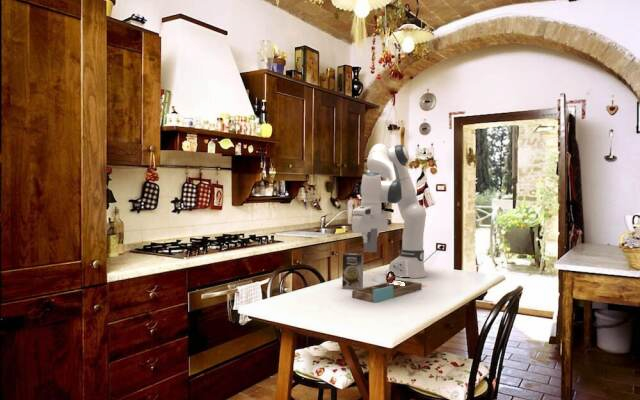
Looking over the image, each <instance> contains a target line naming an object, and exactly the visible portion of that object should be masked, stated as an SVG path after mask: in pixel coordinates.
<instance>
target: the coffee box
mask: <svg viewBox="0 0 640 400" xmlns="http://www.w3.org/2000/svg"><path fill="white" fill-rule="evenodd" d="M341 280H342V285H341V287H342V289H346V290H347V289H348V290H357V289H362V288H364V284H363V283H364V253H355V252H354V253H353V252H345V253H343V254H342V279H341Z"/></svg>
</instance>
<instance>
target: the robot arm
mask: <svg viewBox="0 0 640 400" xmlns="http://www.w3.org/2000/svg"><path fill="white" fill-rule="evenodd" d="M409 158H410V155H409V152H408V150H407V148H406V146H404V145H403V144H395V146H391V147H388V146H387V145H386V144H385V143H384V144H383V143H375V144H374V145H373V146H372V147H371V149H370V150H369V153H368V156H367V160H366V167H367V170H368V171H369V172H364V173H363V174H362V177H361V178H362V179H361V184H360V185H359V197H360V198H361V200H360V205H359V206H357V207H354V208H353V209H352V212H351V213H352V215H353V216H352V219H351V230H352V232H353V233H355V234H358V233H359V234H361V236H362V237H361V238H362V239H363V240H362V241H363V244H364V243H369V239H368V238H367V234H368V232H371V229H377V238H378V237H379V235H380V232H384V231H385V232H386V231H388V228H389V226H388V225H389V224H388V223H389V222H388V216H387V212H386V210H384V209H382V203H389V204H395V205H396V204H397V207H398V210H399V213H400V217H401V219H402V220H403V229H402V230H403V231H402V242H401V243H402V245H401V249H400V250H398V251H397V253H399V256H398V257H396V258H394V259H393V260H392V261H391V262H390V263H389V265H388V270H386V271H384V274H385V273H387V272H388V271H393V272H394V273H395V275H396V276H395V277H397V276H402V277H410V278H409V279H411V278H412V279H420V278H426V277H427V275H426V274H427V273H426V270H425V263H424V262H425V261H424V259H425V250H424V235H425V234H424V233H425V226H426V216H427V212H426V209H425V208H424V207H423V205H421V204H419V201H418V198H417V193H416V188H415V186H414V183H413V180H412V178H411V175H410V172H409V171H408V168H407V163H408V162H409ZM382 178H386V179H388V180H382Z"/></svg>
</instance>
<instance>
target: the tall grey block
mask: <svg viewBox="0 0 640 400" xmlns="http://www.w3.org/2000/svg"><path fill="white" fill-rule="evenodd" d="M367 238H368V239H369V243H364V242H363V252H364V253H371V254H372V253H378V237H377V229H371V232H368V234H367Z"/></svg>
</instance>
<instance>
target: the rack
mask: <svg viewBox="0 0 640 400" xmlns="http://www.w3.org/2000/svg"><path fill="white" fill-rule="evenodd" d="M395 280H396V279H395ZM396 281H401V282H404V283H405V286H400V285H394V284H389V283H387V282H382V283H379V284H375V285H374V284H373V285H370V286H367V287H362V289H352V291H351V298H352V299H356V300H360V301H365V302H370V303H375V304H376V303H380V302H382V301H387V300H389V299H395V298H397V297H400V296H401V297H402V296H404V295H405V296H406V295H408V294H411V293H415V292H418V291H419V292H420V291H421V290H422V283H421V282H417V281H416V282H415V281H410V280H404V279H397V280H396Z"/></svg>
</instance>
